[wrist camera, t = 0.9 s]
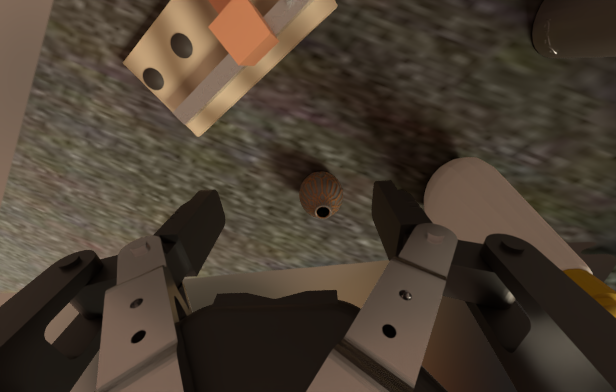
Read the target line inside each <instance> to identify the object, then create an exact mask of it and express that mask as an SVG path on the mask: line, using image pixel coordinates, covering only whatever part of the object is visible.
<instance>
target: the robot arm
mask: <svg viewBox="0 0 616 392" xmlns="http://www.w3.org/2000/svg"><path fill="white" fill-rule="evenodd" d="M532 38H533V44H534V46H535V49H536V50H537V51H538V53H539V54H541V55H542V56H544V57H547V58H551V59H554V58H590V57H616V0H544V1H543V2H542V4H541V6H540V8H539V10H538V12H537V15H536V18H535V21H534V24H533V31H532ZM372 218H373V221H374V224H375V226H376V229H377V231H378V234H379V236H380V239H381V241H382V244H383V246H384V249H385V251H386V254H387V256H388V259H389V261H390V262H389V263H388V265H387V267H386V268H385V270H384V272H383V274H382V275H381V277H380V278H379V280H378V282H377V283H376V285H375V287H374V289H373V290H372V292H371V293H370V295H369V297H368V298H367V300H366V302H365V304H364V305H363V307H362V308H361V309H360V308H358V307H357V306H355V305H353V304H351V303H348V302H345V301H341V300H338V299H337V291H336V290H322V291H305V292H301V293H297V294H293V295H290V296H286V297H282V298H278V299H271V298H267V297H262V296H257V295H253V294H249V293H227V294H217V296H216V298H215V300H214V303H213V304H212V305H209V306H206V307H204V308H201V309H199V310H197V311H195V312H192V309H191V305H190V302H189V299H188V295H187V292H186V288H185V285H184V283H183V279H184V277H187V276H197V275H198V273H199V271H200V269H201V268H202V266H203V264H204V262H205V260H206V259H207V257H208V255H209V253H210V251H211V249H212V248H213V246H214V244H215V242H216V240H217V239H218V237H219V235H220V233H221V231H222V229H223V228H224V225H225V214H224V211H223V208H222V204H221V201H220V198H219V195H218V192H217V191H216V190H200V191H198V192H197V194H196V195H195V196H194V197H193V198H192V199H191V200H190V201H188V202H187V203H185V204H183V205H182V206H180V207H179V209H178V210H177V211H176V212H175V214H173V215H172V216H171V217H170V219H168V220H167V221H166V222H165V223H164V224H163V226H162V227H161V228H160V229H159V230H158V231H157V232H156V233H155V234H154V235H152V236H145V237H141V238H138V239H136V240H134V241H132V242H130V243H129V244H127V245H126V246H124V247H123V248H122V249H121V250H120V252H119V253H118V255H116V256H112V257H108V258H104V259H100V258H99V257H98V256H97V254H96V253H95V252H94V251H92V250H84V251H79V252H76V253H73V254H70V255H68V256H66V257H64V258H62V259H60V260H59V261H57V262H55V263H54V264H53V265H51V266H50V267H49V268H48V269H46V270H45V271H44V272H43V273H41V274H40V275H39V276H38V277H36V278H35V279H34V280H33V281H31V282H30V283H29V284H28V285H27V286H25V287H24V288H23V289H22V290H20V291H19V292H18V293H17V294H15V295H14V296H13V297H12V298H10V299H9V300H8V301H7V302H5V303H4V304H3V305H2V306H1V307H0V392H70V391H71V389H72V388H73V386H74V385H75V383H76V382H77V381H78V379H79V378H80V376H81V375H82V373H83V372H84V370H85V369H86V368H87V366H88V365H89V363H90V362H91V361H92V359H93V358H94V356H95V355H96V353H97V352H98V351H99V349H100V354H99V366H98V377H97V387H96V391H95V392H448V391H447V390H446V389H445V388H444V387H443V386H442V385H441V384H440V383H439V382H438V381H437V380H436V379H434V377H433V376H432V375H430V374H429V372H427V370H426V369H425V368H424V367H423V366H422V365H421V364H422V360H423V357H424V354H425V351H426V347H427V344H428V341H429V337H430V334H431V331H432V327H433V324H434V320H435V317H436V314H437V311H438V307H439V304H440V300H441V297H442V296H447V297H451V298H455V299H459V300H463V301H465V302H466V304H467V306H468V308H469V309H470V311H471V313H472V314H473V316H474V318H475V320H476V321H477V323H478V325H479V327H480V328H481V330H482V332H483V333H484V335H485V337H486V338H487V340H488V342H489V344H490V345H491V347H492V349H493V350H494V352H495V354H496V356H497V358H498V359H499V361H500V362H501V364H502V366H503V368H504V369H505V371H506V373H507V375H508V376H509V378H510V380H511V382H512V383H513V385H514V387H515V388H516V390H517V392H616V318H615V317H614V316H613V315H612V314H611V313H610V312H608V311H607V310H606V309H605V308H604V307H603V306H602V305H600V304H599V303H598V302H597V301H596V300H595V299H594V298H592V297H591V296H590V295H589V294H588V293H587V292H586V291H584V290H583V289H582V288H581V287H580V286H579V285H578V284H576V283H575V282H574V281H573V280H572V279H571V278H570V277H569V276H567V275H566V274H565V273H564V272H563V271H562V270H561V269H559V268H558V267H557V266H556V265H555V264H554V263H553V262H551V261H550V260H549V259H548V258H547V257H546V256H545V255H543V254H542V253H541V252H540V251H539V250H538V249H537V248H535V247H534V246H533V245H532V244H530V243H528V242H527V241H525V240H523V239H520V238H518V237H515V236H512V235H507V234H500V233H496V234H490V235H488V236H487V237H486V238H485V241H484V243H483V244H481V243H475V242H468V241H463V240H458V239H457V236H456V235H455V234H454V233H453V232H452V231H451V230H450V229H448V228H446V227H444V226H441V225H438V224H433V223H432V221H431V220H430V219H429V217H428V216H427V215H426V214H425V212H424V211H423V210H422V208H421V207H420V206H419V204H418V203H417V202H416V201H415V199H414V198H413V197H412V195H411V194H409V193H407V192H406V191H404V190H397V188H396V187H395V185H394V184H393V182H392V181H391V180H389V181H375V183H374V188H373V199H372ZM515 299H516V300H517V301H518V302H519V304H520V305H521V306H522V307H523V309H524V310H525V311H526V313H527V314H528V316H529V318H528V317H527V316H526V314H525V313H524V312H523V311H522V309H521V308H520V307H519V306H518V304H517V303H516V302H515ZM69 302H70V303H71V304H72V306H74V308H75V309H76V310H77V311H78V312H79V314H78V315H77V317H76V318H75V319H74V320H73V321H72V322H71V323H70V325H69V326H68V327H67V328H66V329H65V330H64V331H63V332H62V334H61V335H60V336H59V337H58V338H57V339H56V340H55V341H54V343H53V344H52V345H51V344H50V343H48V342H47V341H46V340H45V337H44V332H45V329H46V327H47V325H48V324H49V323H50V321H51V320H52V319H53V318H54V317H55V316H56V315H57V314H58V313H59V312H60V311H61V310H62V309H63V308H64V307H65V306H66V305H67V304H68V303H69Z"/></svg>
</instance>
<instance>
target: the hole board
mask: <svg viewBox="0 0 616 392" xmlns="http://www.w3.org/2000/svg"><path fill="white" fill-rule="evenodd" d="M250 1H251V2H252V3H253V5H254V6H255V7H256V8H257V9H258V11H259V12H260V14H261V15H262V17H264V16H265V15H266V14H267V13H268V12H269V11H270V10H271V9H272V7H273V6H274V5H275V4H276V3H277V2H278V1H279V0H250ZM337 6H338V5H337V4H336V2H335V0H314V1H313V2H312V3H311V4H310V5H309V6H308V7H307V8H306V9H305V10H304V11H303V12H302V13H301V14H300V15H299V16H298V17H297V18H296V19H295V20H294V21H293V22H292V23H291V24H290V25H289V26H288V27H287V28H286V29H285V30H284V31H283V32H282V33H281V34H280V35H279V36H278V37H277V39H278V40H279V42H278V43H277V44H276V45H275V46H274V47H273V48H272V49H271V50H270V51H269V52H268V53H267V54H266V55H265V56H264V57H263V58H262V59H261V60H260V61H259V62H258V63H257V64H256V65H255V66H247V67H246V68H245V69H244V70H243V71H242V72H241V73H240V74H239V75H238V76H237V77H236V78H235V79H234V80H233V81H232V82H231V83H230V84H229V85H228V86H227V87H226V88H225V89H224V90H223V91H222V92H221V93H220V94H219V95H218V96H217V97H216V98H215V99H214V100H213V101H212V102H211V103H210V104H209V105H208V106H207V107H206V108H205V109H204V110H203V111H202V112H201V113H200V114H199V115H198V116H197V117H196V118H195V119H194V120H193V121H192V122H190V123H188V124H186V126H187V127H188V128H189V129H190V130H191V131H192V132H193V133H194V134H195V135H196V136H197V137H199V136H201V135H202V134H203V133H204V132H205V131H206V130H207V129H208V128H209V127H211V126H212V125H213V124H214V123H215V122H216V121H217V120H218V119H219V118H220V117H221V116H222V115H223V114H224V113H225V112H226V111H227V110H229V109H230V108H231V107H232V106H233V105H234V104H235V103H236V102H237V101H238V100H239V99H240V98H241V97H242V96H243V95H244V94H246V93H247V92H248V91H249V90H250V89H251V88H252V87H253V86H254V85H255V84H256V83H257V82H258V81H259V80H260V79H261V78H263V77H264V76H265V75H266V74H267V73H268V72H269V71H270V70H271V69H272V68H273V67H274V66H275V65H276V64H277V63H278V62H280V61H281V60H282V59H283V58H284V57H285V56H286V55H287V54H288V53H289V52H290V51H291V50H292V49H293V48H294V47H295V46H297V45H298V44H299V43H300V42H301V41H302V40H303V39H304V38H305V37H306V36H307V35H308V34H309V33H310V32H311V31H312V30H314V29H315V28H316V27H317V26H318V25H319V24H320V23H321V22H322V21H323V20H324V19H325V18H326V17H327V16H328V15H329V14H331V13H332V12H333V11H334V10H335V9H336V8H337ZM218 15H219V14H218V13H217V11H216V10H215V9H214V7H213V6H212V5H211V3H210V2H209V1H208V0H171V1H170V2H169V3H168V4H167V6H166V7H165V8H164V10H163V11H162V12H161V14H160V15H159V16H158V18H157V19H156V20H155V21H154V23H153V24H152V25H151V27H150V28H149V29H148V31H147V32H146V33H145V35H144V36H143V37H142V38H141V40H140V41H139V42H138V44H137V45H136V46H135V48H134V49H133V50H132V52H131V53H130V54H129V55H128V57H127V58H126V59H125V61H124V62H123V64H124V65H125V66H126V67H127V68H128V69H129V70H130V71H131V72H132V73H133V74H135V75H136V76H137V77H138V78H139V79H140V80H141V81H142V82H143V83H144V84H145V85H146V86H147V87H148V88H149V89H150V90H151V91H152V92H153V93H154V94H155V95H156V96H157V97H158V98H159V99H160V100H161V101H162V102H163V103H164V104H165V105H166V106H167V107H168V108H169V109H170V110H171V111H172V112H174V111H175V110H176V108H177V107H178V106H179V105H180V104H181V103H182V102H183V101H184V100H185V99H186V98H187V97H188V96H189V95H190V94H191V93H192V92H193V91H194V90H195V88H196V87H197V86H198V85H199V84H200V83H201V82H202V81H203V80H204V79H205V78H206V77H207V76H208V75H209V74H210V73H211V72H212V71H213V70H214V68H215V67H216V66H217V65H218V64H219V63H220V62H221V61H222V60H223V59H224V58H225V57H226V56H227V55H228V54H229V53H228V51H227V50H226V49H225V48H224V46H223V45H222V44H221V43H220V41H219V40H218V39H217V38H216V36H215V35H214V34H213V33H212V31H211V30H210V29H209V28H208V27H209V25H210V24H211V23H212V22H213V21H214V20H215V18H216V17H217V16H218Z"/></svg>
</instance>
